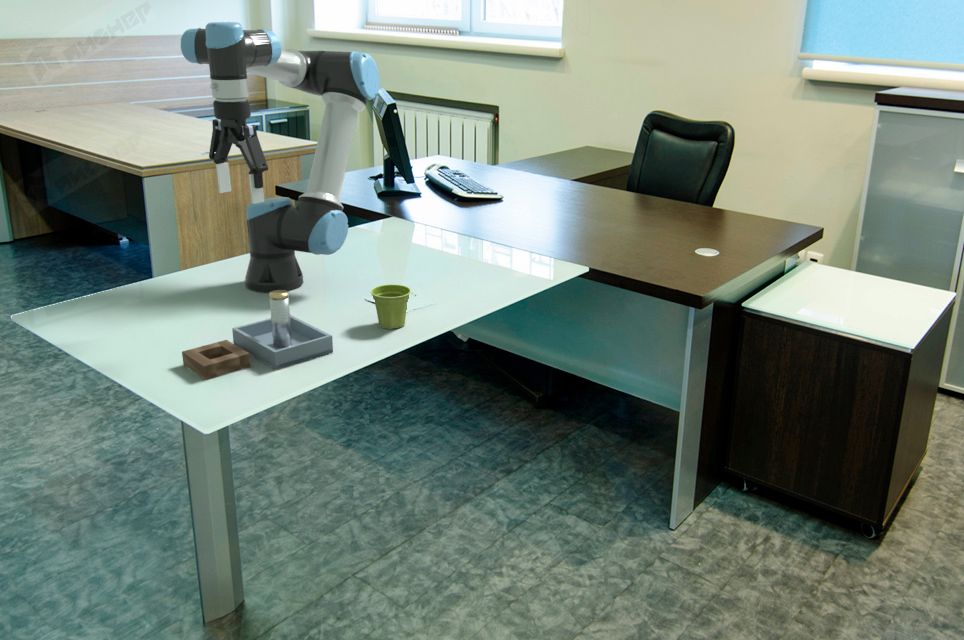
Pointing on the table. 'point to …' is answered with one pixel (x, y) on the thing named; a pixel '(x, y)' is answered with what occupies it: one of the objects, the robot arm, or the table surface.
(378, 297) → the plant pot
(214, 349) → the socket block
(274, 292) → the pin
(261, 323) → the tray
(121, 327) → the table surface
